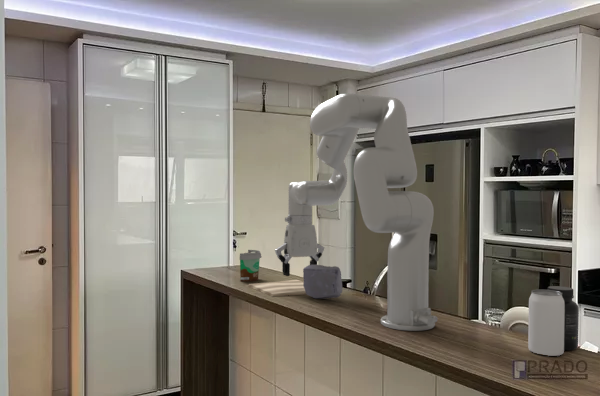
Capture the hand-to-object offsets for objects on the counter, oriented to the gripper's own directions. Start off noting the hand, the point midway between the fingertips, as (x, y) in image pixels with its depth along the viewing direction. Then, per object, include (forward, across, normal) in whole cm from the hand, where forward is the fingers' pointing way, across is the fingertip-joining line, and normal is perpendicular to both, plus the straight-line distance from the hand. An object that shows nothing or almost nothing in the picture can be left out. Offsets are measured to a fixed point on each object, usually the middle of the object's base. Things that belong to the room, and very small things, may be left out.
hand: (299, 274), depth 169 cm
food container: (+5, -6, +24) cm, 25 cm away
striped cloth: (+5, -4, +2) cm, 7 cm away
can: (+5, +13, -79) cm, 80 cm away
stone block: (+5, -1, -16) cm, 17 cm away
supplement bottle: (+5, +20, -77) cm, 80 cm away
